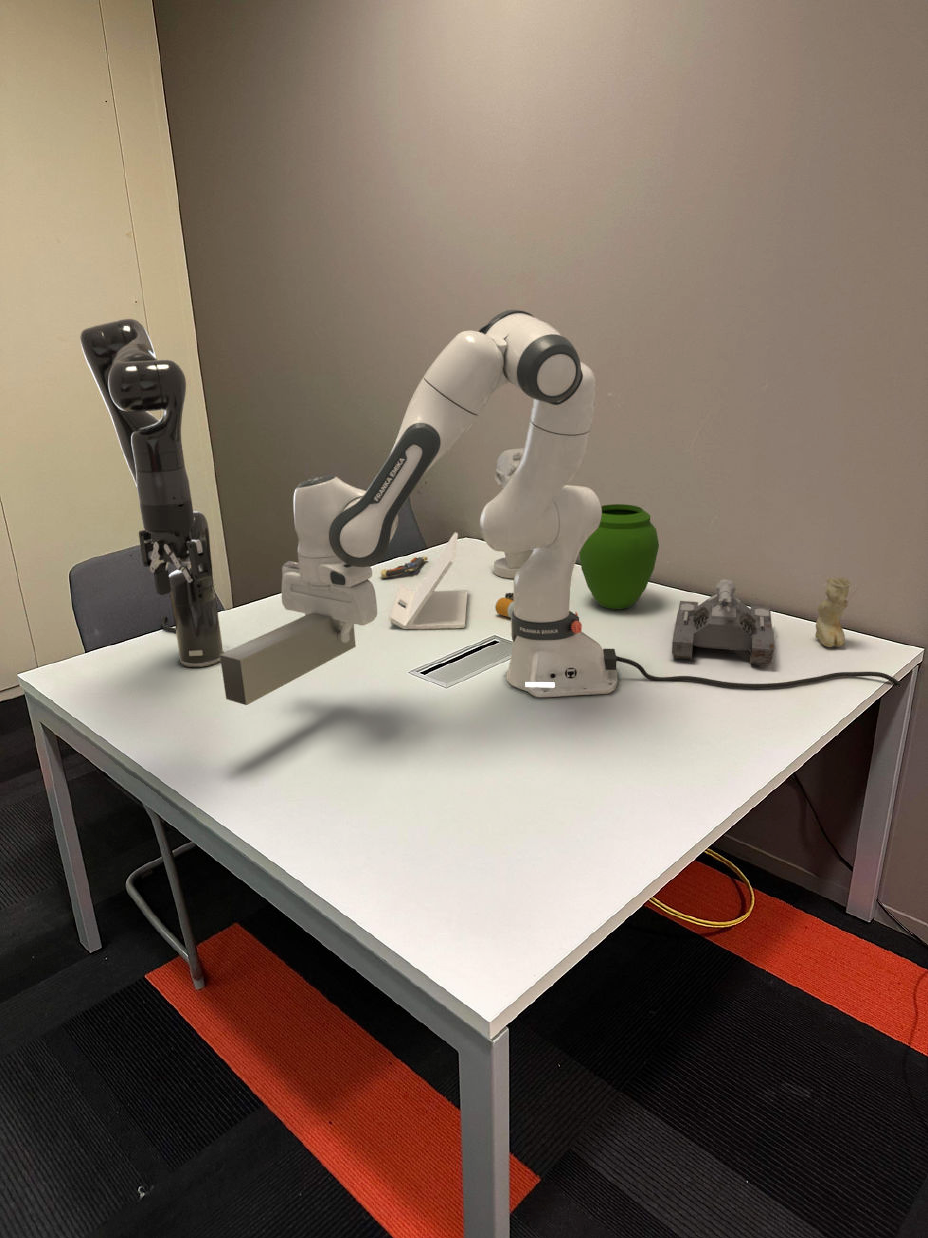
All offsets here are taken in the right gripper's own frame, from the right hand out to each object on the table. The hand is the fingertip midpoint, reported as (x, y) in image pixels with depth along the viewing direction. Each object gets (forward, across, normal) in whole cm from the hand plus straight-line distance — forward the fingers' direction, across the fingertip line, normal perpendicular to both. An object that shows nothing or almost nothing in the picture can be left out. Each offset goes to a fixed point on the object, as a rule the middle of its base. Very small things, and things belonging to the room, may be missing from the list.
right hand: (331, 638), depth 158 cm
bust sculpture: (+15, -9, +91) cm, 93 cm away
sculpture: (+16, +73, +79) cm, 109 cm away
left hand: (-15, -7, -26) cm, 31 cm away
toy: (+16, +53, +67) cm, 87 cm away
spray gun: (+15, +5, +66) cm, 67 cm away
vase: (+15, +23, +80) cm, 85 cm away
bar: (+3, 0, -10) cm, 10 cm away
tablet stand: (+15, -16, +54) cm, 59 cm away
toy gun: (+15, -42, +79) cm, 91 cm away
